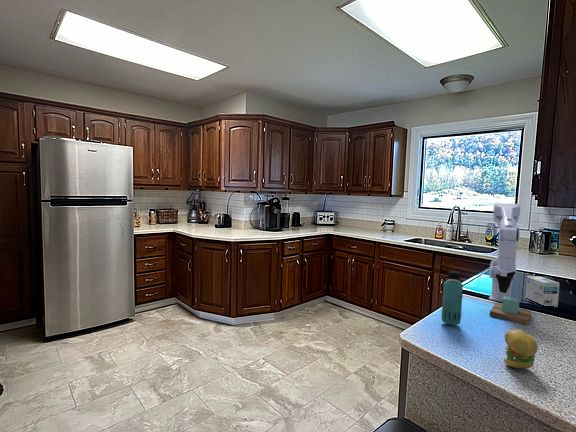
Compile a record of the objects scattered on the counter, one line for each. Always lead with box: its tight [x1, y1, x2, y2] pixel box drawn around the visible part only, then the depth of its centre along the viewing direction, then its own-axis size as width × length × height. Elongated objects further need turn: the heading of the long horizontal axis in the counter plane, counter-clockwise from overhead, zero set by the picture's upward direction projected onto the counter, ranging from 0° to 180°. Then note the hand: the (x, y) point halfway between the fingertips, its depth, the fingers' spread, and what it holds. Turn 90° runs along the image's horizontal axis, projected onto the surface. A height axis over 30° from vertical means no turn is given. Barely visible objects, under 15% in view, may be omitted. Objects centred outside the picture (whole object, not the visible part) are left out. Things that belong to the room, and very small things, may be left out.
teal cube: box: [501, 296, 520, 314], centre depth 125 cm, size 5×5×5 cm
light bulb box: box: [525, 275, 561, 308], centre depth 141 cm, size 11×7×11 cm, turn 179°
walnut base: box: [489, 302, 532, 326], centre depth 125 cm, size 12×12×2 cm
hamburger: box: [503, 329, 539, 369], centre depth 88 cm, size 8×7×12 cm
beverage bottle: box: [441, 270, 464, 326], centre depth 115 cm, size 6×7×20 cm
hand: (504, 290), depth 128 cm, fingers open, 7 cm apart
